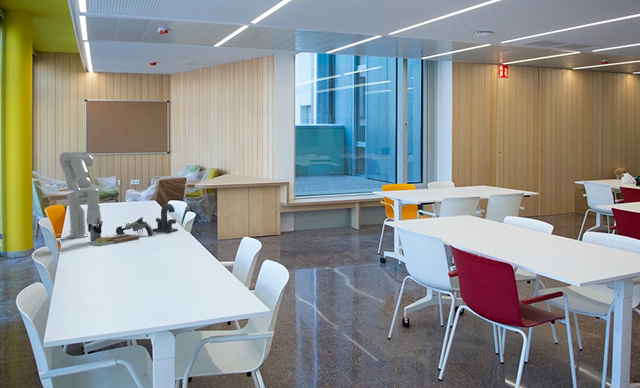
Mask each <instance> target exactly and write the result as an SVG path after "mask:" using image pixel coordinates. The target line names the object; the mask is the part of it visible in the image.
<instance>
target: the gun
mask: <svg viewBox="0 0 640 388" xmlns="http://www.w3.org/2000/svg"><path fill="white" fill-rule="evenodd" d="M143 218H144V216H143V217H142V216H141V217H140V218H138V219H137V220H136V221H134V222H131V223H130V222H128V223H125V226H124V227H123V225H121V226H117V227H116V229H115V233H116V234H117V236H119V235H125V234H126V233H125V232H124V231H129V230H131V229H132V231H133V232H136V233H137V234H139V235H141V234H142V233H143V232H144V230H143V229H145V230H146V233H147V237H151V236H153V235H154V232H153V230H152V229H153V228H152V226H151V225H150V224H149V223H148V222H147V221H144V220H143Z"/></svg>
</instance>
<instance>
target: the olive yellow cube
mask: <svg viewBox="0 0 640 388" xmlns="http://www.w3.org/2000/svg"><path fill="white" fill-rule="evenodd" d="M101 237H102V238H105V242H110V241H111V240H110V237H111V236H107V235H106V236H101Z"/></svg>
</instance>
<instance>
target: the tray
mask: <svg viewBox="0 0 640 388" xmlns="http://www.w3.org/2000/svg"><path fill="white" fill-rule="evenodd" d="M113 244H116V243H115V241H110V242H104V243H96V241H91V240H90V241H89V245H92V246H98V247H102V246H107V245H113Z"/></svg>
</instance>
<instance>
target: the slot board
mask: <svg viewBox="0 0 640 388" xmlns="http://www.w3.org/2000/svg"><path fill="white" fill-rule="evenodd" d="M109 237H110V240H111V241H115V243H114V244H120V243H126V242H131V241H136V240H137V241H138V240H140V236H139V235H134V234H127V233H125V234H120V235H115V236H109Z"/></svg>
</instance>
